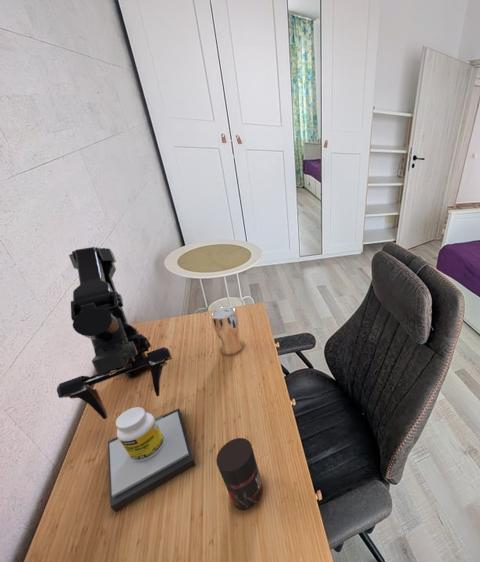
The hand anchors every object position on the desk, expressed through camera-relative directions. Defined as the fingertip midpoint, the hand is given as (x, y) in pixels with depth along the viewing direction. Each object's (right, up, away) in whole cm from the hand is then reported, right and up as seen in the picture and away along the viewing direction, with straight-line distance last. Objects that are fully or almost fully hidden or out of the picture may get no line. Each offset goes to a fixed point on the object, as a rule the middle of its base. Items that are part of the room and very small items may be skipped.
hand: (133, 406), depth 62 cm
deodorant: (+27, -17, -3) cm, 32 cm away
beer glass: (+6, +5, +32) cm, 33 cm away
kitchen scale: (+3, -12, +2) cm, 12 cm away
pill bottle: (+3, -9, 0) cm, 10 cm away
